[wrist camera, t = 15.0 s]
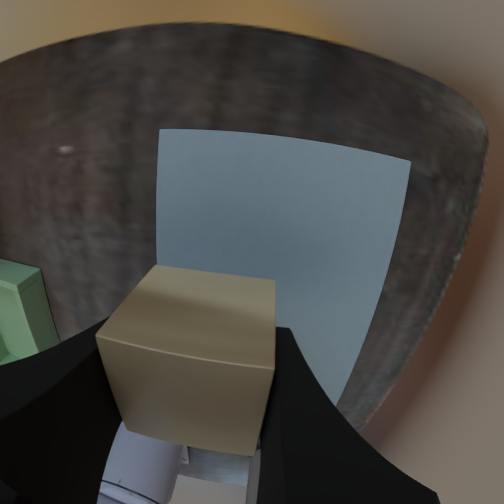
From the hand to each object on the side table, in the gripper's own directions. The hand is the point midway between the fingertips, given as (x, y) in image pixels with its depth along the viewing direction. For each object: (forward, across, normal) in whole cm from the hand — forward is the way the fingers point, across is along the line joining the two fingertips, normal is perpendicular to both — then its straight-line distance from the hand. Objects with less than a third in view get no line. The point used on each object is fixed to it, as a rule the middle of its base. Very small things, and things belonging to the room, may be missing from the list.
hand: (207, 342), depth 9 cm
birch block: (+1, 0, 0) cm, 1 cm away
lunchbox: (+8, +22, +10) cm, 26 cm away
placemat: (+8, -2, +3) cm, 9 cm away
